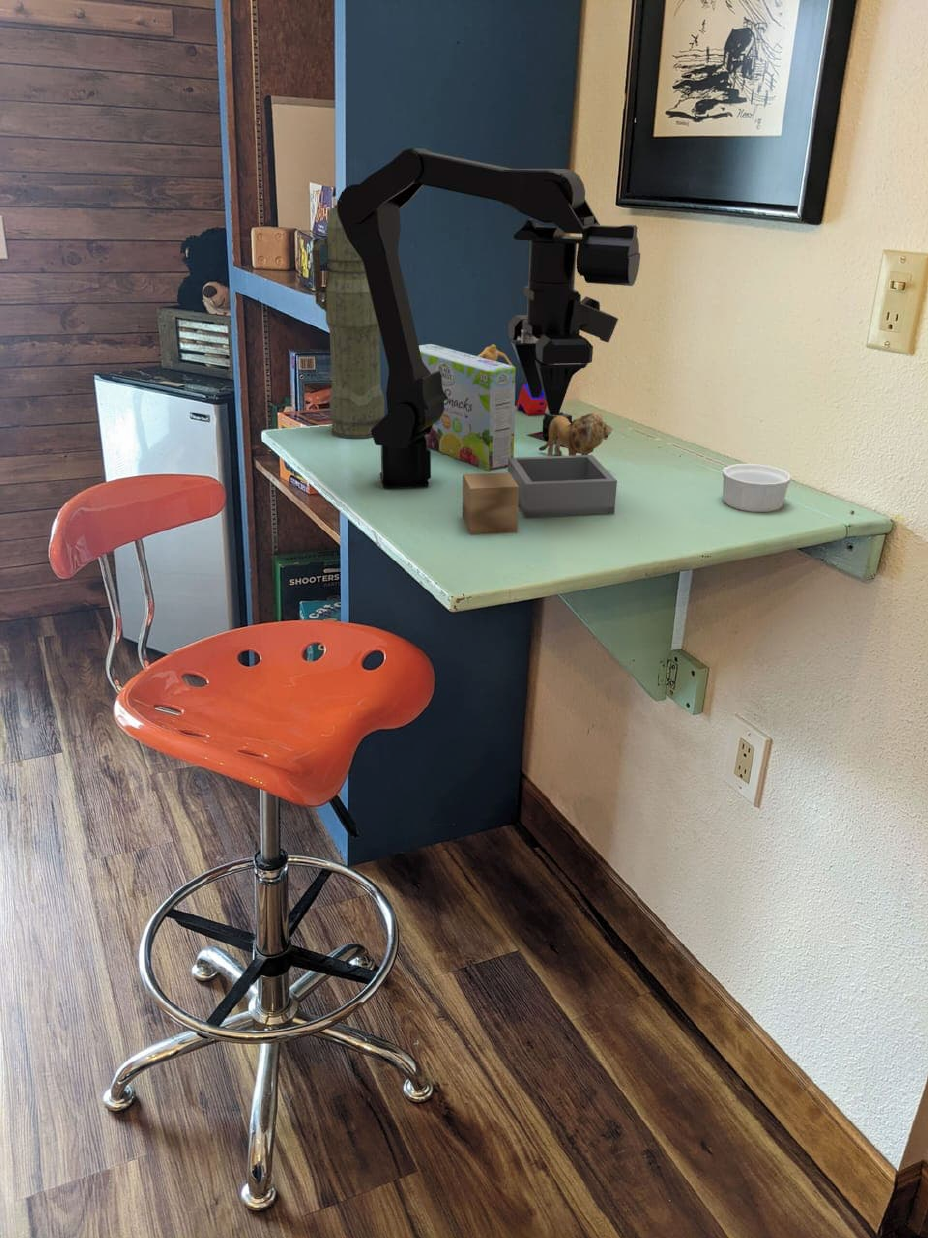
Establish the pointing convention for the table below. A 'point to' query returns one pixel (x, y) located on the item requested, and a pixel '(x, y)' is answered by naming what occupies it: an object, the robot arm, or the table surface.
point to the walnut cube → (490, 503)
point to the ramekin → (755, 487)
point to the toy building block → (531, 402)
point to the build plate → (546, 424)
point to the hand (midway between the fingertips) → (544, 405)
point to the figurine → (493, 354)
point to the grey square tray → (563, 486)
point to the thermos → (349, 336)
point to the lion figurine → (577, 434)
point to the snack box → (473, 407)
